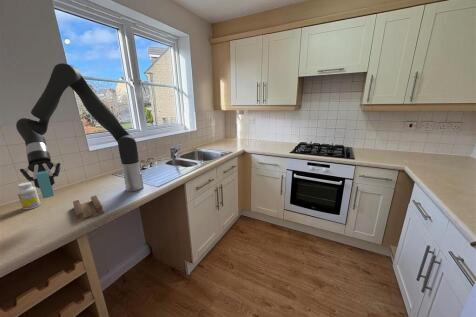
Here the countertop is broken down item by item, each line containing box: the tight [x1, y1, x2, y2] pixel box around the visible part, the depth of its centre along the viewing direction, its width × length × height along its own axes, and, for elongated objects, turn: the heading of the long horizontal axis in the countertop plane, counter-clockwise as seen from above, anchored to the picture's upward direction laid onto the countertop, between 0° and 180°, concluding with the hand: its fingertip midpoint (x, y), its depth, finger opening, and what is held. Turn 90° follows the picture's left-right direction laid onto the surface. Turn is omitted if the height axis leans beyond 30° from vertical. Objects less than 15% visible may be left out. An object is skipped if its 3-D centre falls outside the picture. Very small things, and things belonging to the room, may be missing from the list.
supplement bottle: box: [16, 181, 41, 210], centre depth 102 cm, size 7×7×13 cm
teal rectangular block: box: [36, 171, 55, 199], centre depth 89 cm, size 4×5×11 cm, turn 43°
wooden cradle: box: [72, 194, 105, 222], centre depth 99 cm, size 10×17×4 cm, turn 43°
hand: (45, 185), depth 88 cm, fingers closed on teal rectangular block, 3 cm apart
